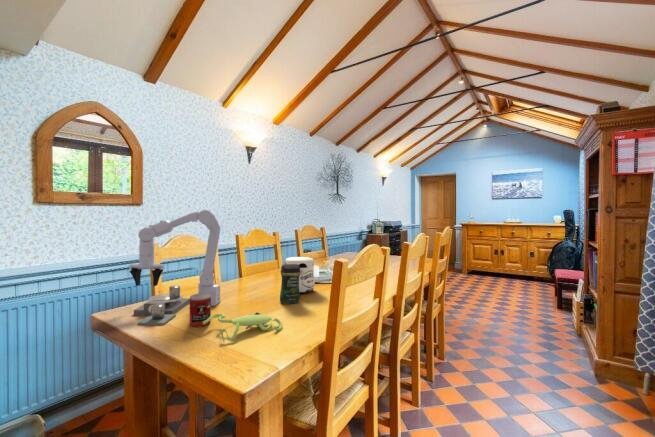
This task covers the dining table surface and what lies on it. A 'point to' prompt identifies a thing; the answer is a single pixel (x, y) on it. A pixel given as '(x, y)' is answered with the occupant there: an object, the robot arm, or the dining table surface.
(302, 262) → the milk container
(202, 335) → the dining table surface
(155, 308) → the steel weight
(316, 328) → the dining table surface
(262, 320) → the figurine
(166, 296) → the scale pan
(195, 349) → the dining table surface
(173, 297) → the block
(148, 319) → the rubber mat
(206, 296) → the canned food
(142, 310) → the scale housing
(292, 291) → the coffee jar
